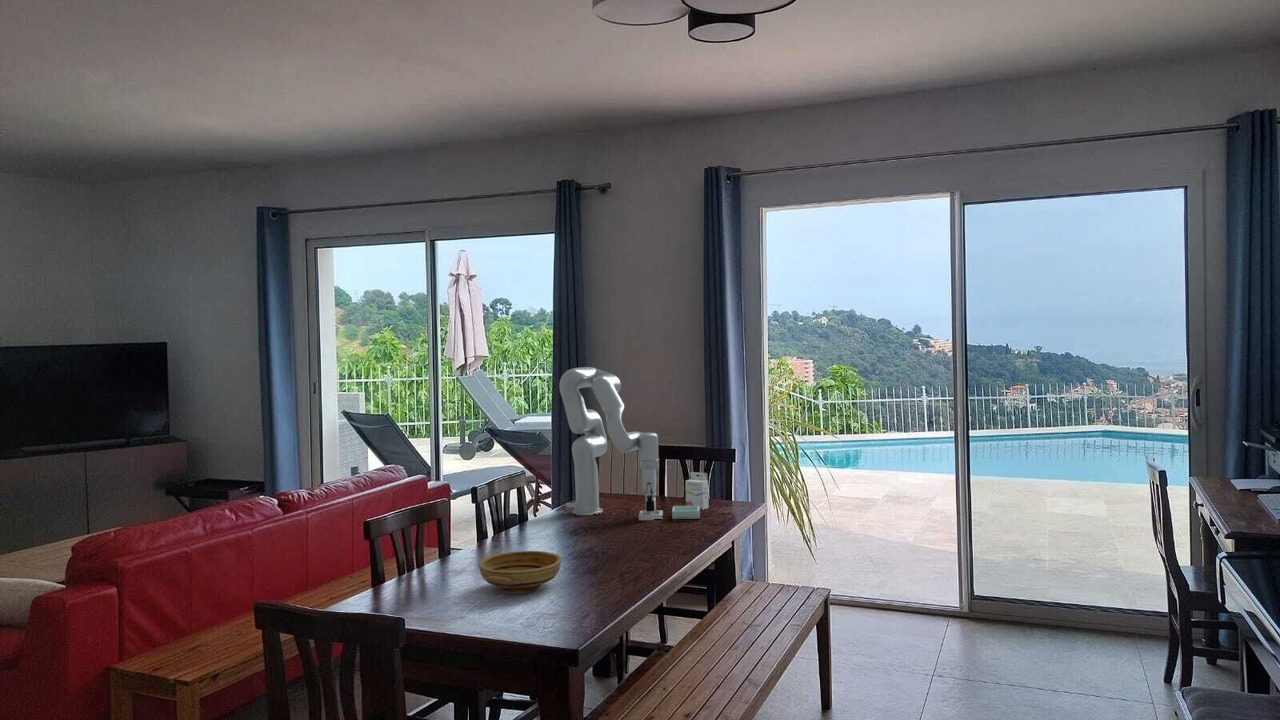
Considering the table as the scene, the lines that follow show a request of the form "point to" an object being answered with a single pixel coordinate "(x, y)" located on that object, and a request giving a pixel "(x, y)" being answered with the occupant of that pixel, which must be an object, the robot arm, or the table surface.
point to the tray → (686, 512)
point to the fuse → (654, 505)
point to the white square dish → (650, 517)
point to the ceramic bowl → (520, 570)
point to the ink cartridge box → (697, 490)
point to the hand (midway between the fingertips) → (650, 509)
